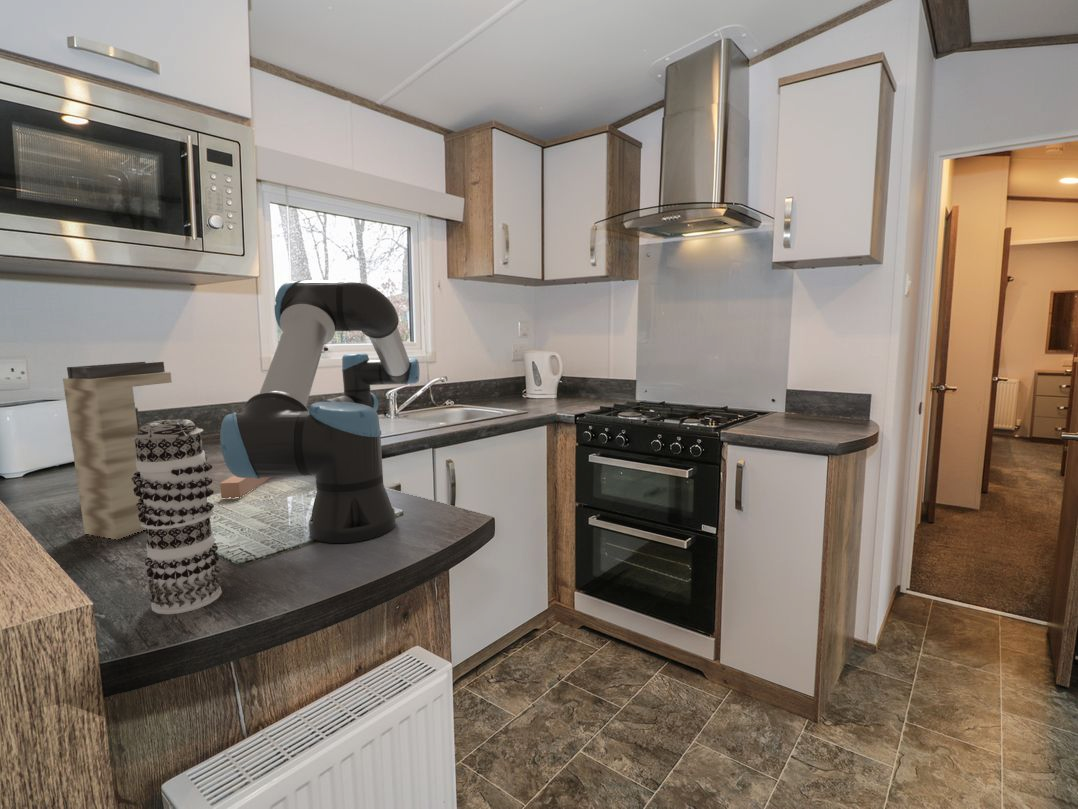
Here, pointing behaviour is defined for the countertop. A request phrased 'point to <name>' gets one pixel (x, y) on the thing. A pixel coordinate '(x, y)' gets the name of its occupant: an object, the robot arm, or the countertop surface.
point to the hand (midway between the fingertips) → (277, 424)
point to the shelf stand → (107, 442)
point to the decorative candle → (176, 516)
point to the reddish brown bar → (239, 486)
